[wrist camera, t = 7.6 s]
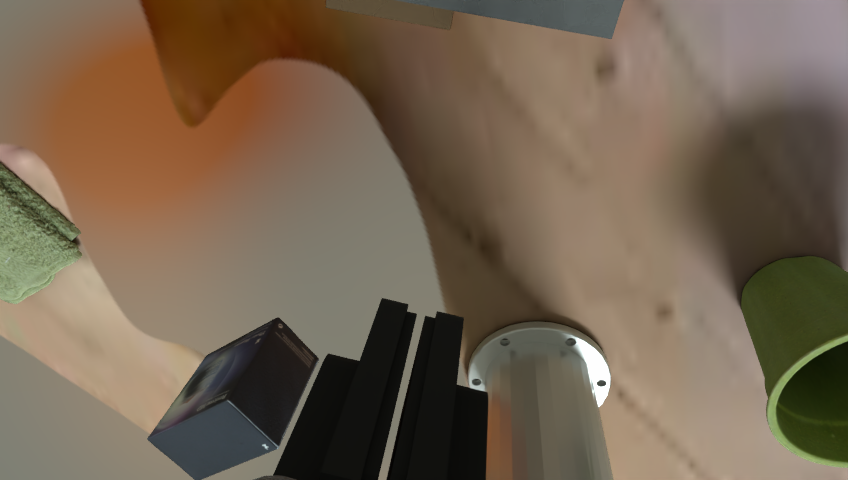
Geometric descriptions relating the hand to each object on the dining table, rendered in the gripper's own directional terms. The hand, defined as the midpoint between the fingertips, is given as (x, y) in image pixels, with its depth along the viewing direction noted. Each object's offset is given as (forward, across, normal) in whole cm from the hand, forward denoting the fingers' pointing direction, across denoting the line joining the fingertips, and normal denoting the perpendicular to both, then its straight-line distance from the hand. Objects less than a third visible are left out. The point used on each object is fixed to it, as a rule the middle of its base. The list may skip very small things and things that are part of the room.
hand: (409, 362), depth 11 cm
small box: (+29, +14, +31) cm, 45 cm away
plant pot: (+29, -28, +10) cm, 41 cm away
